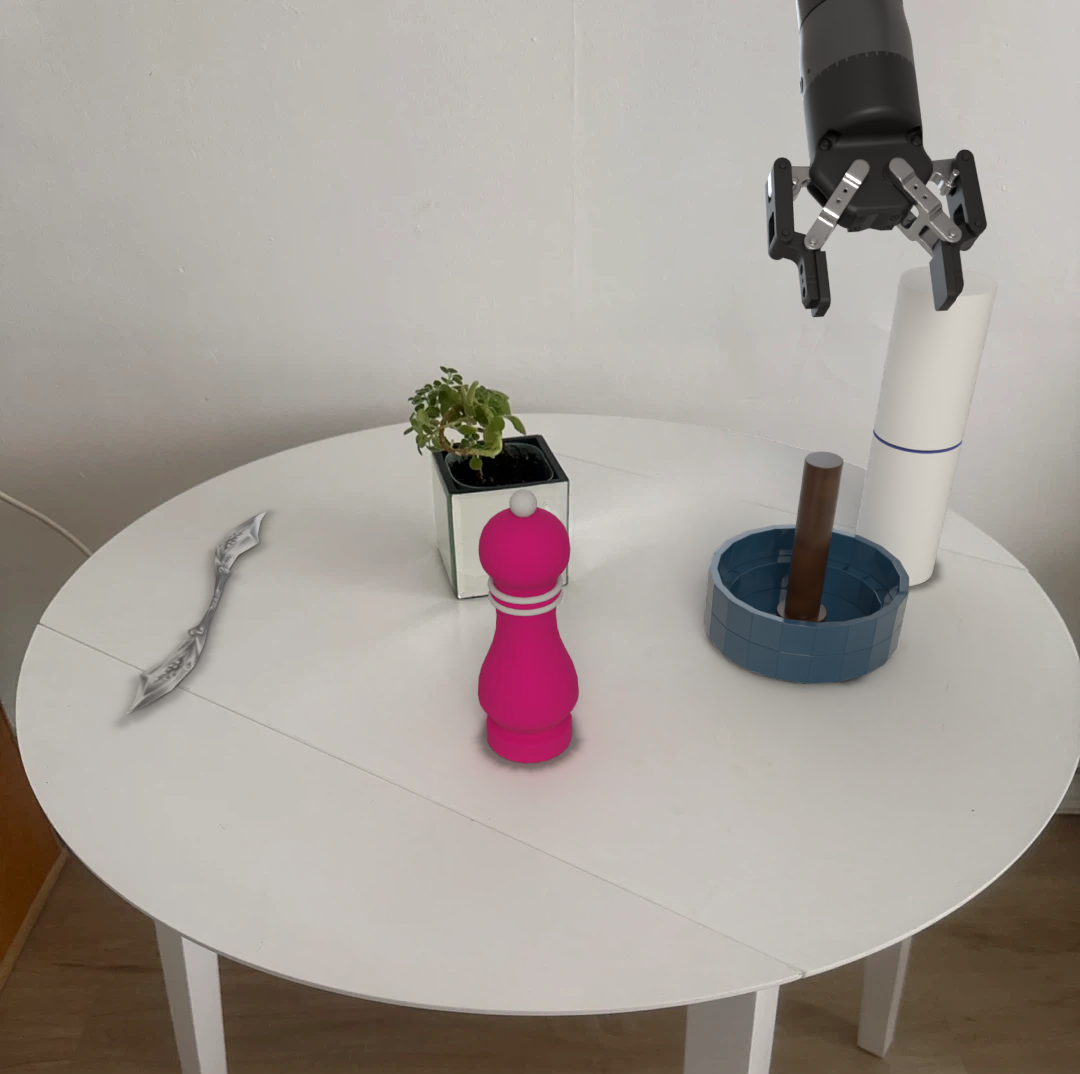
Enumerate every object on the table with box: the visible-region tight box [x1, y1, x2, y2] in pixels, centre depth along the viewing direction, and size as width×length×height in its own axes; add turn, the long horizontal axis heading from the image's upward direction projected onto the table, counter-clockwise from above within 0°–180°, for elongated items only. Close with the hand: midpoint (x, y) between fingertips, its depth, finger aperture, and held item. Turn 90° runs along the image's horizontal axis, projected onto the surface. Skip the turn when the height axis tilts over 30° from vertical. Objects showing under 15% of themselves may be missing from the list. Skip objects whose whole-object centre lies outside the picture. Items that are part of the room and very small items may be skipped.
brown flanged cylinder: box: [776, 451, 844, 623], centre depth 90 cm, size 4×4×15 cm
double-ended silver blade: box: [125, 510, 267, 715], centre depth 100 cm, size 32×1×5 cm
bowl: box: [703, 523, 910, 685], centre depth 93 cm, size 15×15×6 cm
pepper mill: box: [477, 488, 580, 764], centre depth 79 cm, size 7×7×20 cm
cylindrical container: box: [854, 265, 999, 587], centre depth 96 cm, size 7×7×25 cm
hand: (884, 308), depth 77 cm, fingers open, 8 cm apart
